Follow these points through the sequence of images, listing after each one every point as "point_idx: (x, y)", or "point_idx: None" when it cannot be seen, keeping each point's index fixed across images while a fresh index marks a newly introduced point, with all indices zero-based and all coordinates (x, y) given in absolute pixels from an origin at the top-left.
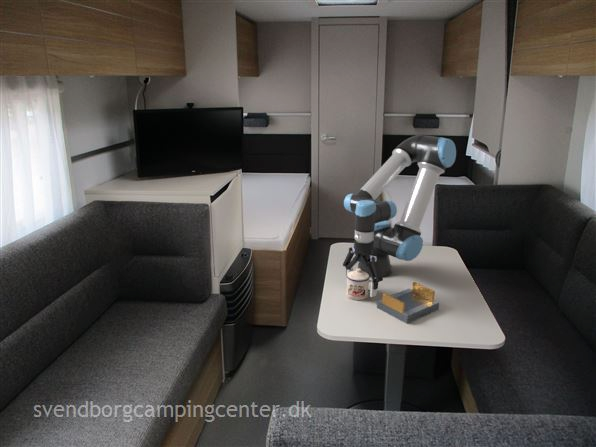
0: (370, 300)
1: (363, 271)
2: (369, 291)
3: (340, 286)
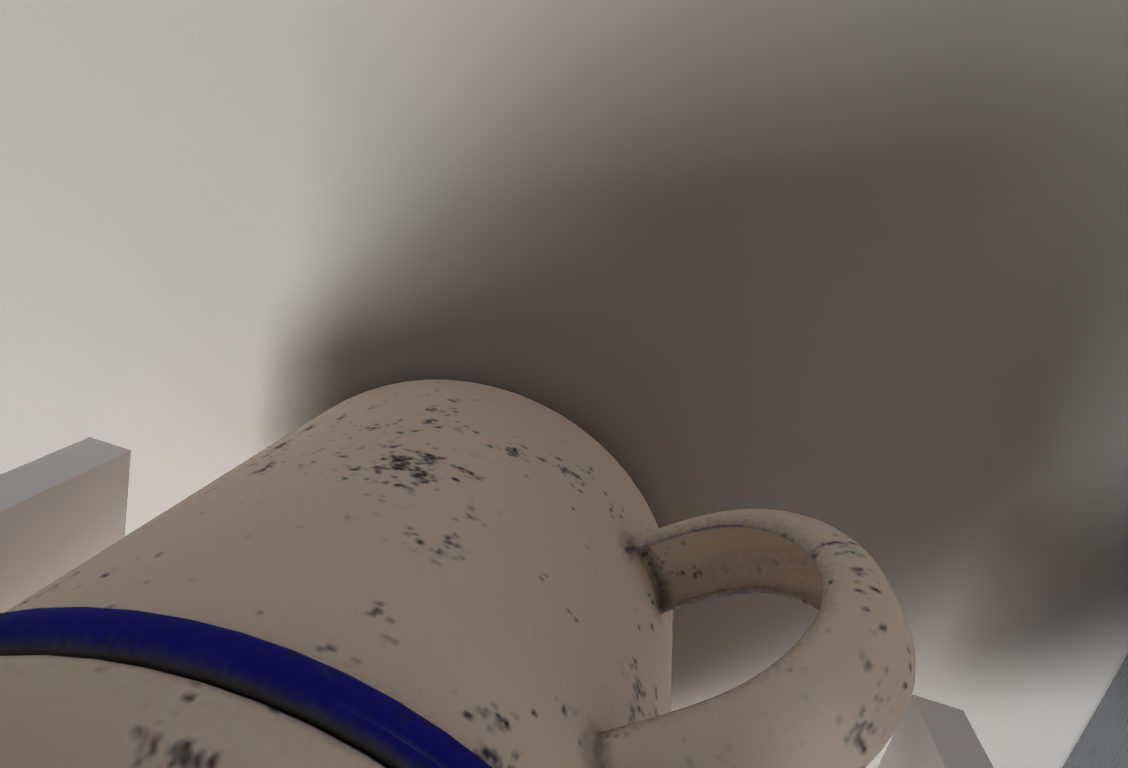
0: (778, 609)
1: (16, 748)
2: (693, 595)
3: (3, 416)
